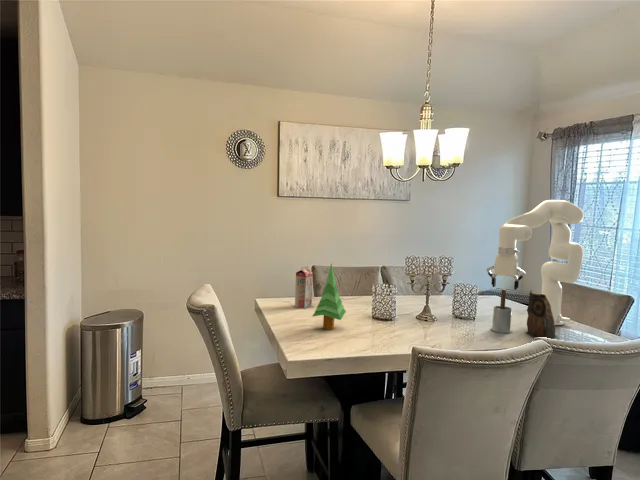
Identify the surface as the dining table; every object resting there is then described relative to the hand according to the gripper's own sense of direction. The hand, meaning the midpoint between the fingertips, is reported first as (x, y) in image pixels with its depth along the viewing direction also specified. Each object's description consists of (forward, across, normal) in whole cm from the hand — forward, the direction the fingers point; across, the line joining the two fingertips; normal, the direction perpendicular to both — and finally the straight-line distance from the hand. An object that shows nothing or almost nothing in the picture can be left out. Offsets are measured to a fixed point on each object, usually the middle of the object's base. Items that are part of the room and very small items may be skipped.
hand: (504, 287), depth 212 cm
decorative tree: (+19, +63, +54) cm, 85 cm away
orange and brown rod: (+20, 0, +1) cm, 20 cm away
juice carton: (+20, +98, +26) cm, 103 cm away
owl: (+21, -17, -3) cm, 27 cm away
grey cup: (+20, 0, +1) cm, 21 cm away
